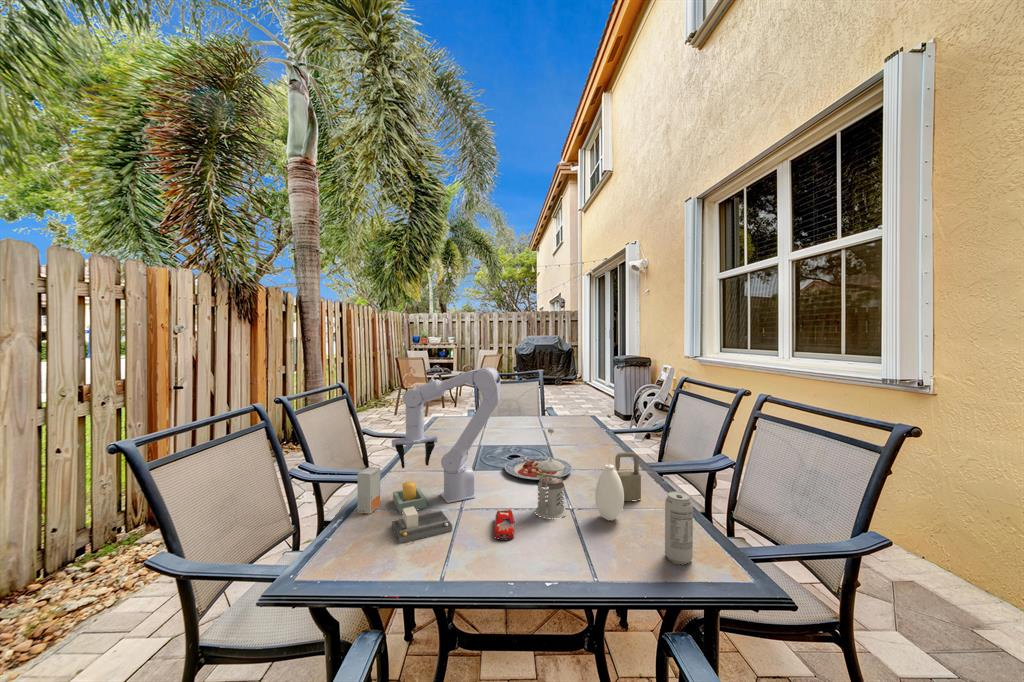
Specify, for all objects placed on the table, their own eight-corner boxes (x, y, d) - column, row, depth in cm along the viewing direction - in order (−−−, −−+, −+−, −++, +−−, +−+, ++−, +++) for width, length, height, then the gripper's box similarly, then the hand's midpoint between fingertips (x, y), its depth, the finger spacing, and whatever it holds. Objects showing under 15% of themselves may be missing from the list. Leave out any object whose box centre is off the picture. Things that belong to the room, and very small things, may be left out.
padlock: (612, 496, 130) (612, 450, 129) (637, 496, 130) (637, 450, 129) (615, 502, 126) (615, 454, 125) (641, 501, 126) (641, 454, 125)
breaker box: (441, 515, 116) (441, 506, 116) (452, 531, 108) (452, 521, 107) (391, 526, 110) (391, 516, 110) (399, 543, 101) (399, 533, 101)
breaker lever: (413, 520, 110) (413, 506, 110) (418, 528, 106) (418, 513, 106) (402, 523, 109) (402, 508, 109) (406, 531, 104) (406, 515, 104)
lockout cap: (414, 499, 127) (414, 480, 127) (417, 504, 123) (417, 485, 123) (401, 502, 125) (401, 482, 125) (404, 506, 122) (404, 487, 121)
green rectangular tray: (418, 496, 130) (418, 487, 130) (426, 508, 122) (426, 498, 121) (393, 501, 127) (393, 491, 127) (399, 513, 118) (399, 503, 118)
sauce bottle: (615, 528, 109) (615, 462, 108) (590, 519, 114) (590, 456, 114) (628, 518, 114) (628, 456, 114) (604, 510, 120) (604, 450, 119)
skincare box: (370, 514, 117) (369, 474, 117) (357, 513, 118) (356, 473, 118) (381, 505, 123) (380, 467, 123) (368, 504, 124) (368, 466, 124)
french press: (571, 508, 121) (571, 426, 121) (559, 525, 111) (559, 435, 110) (541, 502, 125) (541, 423, 125) (527, 518, 115) (526, 431, 114)
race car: (514, 543, 102) (514, 527, 102) (493, 542, 102) (493, 527, 102) (514, 518, 115) (514, 504, 115) (495, 518, 115) (495, 504, 115)
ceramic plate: (509, 460, 168) (509, 453, 168) (571, 462, 164) (571, 455, 164) (499, 483, 142) (499, 474, 142) (572, 486, 139) (572, 478, 139)
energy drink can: (689, 553, 96) (690, 491, 96) (695, 567, 91) (695, 501, 90) (663, 550, 98) (663, 489, 97) (666, 564, 92) (667, 499, 92)
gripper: (392, 429, 125) (393, 472, 125) (439, 425, 130) (439, 467, 131) (391, 424, 132) (391, 465, 132) (435, 421, 137) (435, 460, 137)
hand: (415, 465), depth 132 cm, fingers open, 7 cm apart
